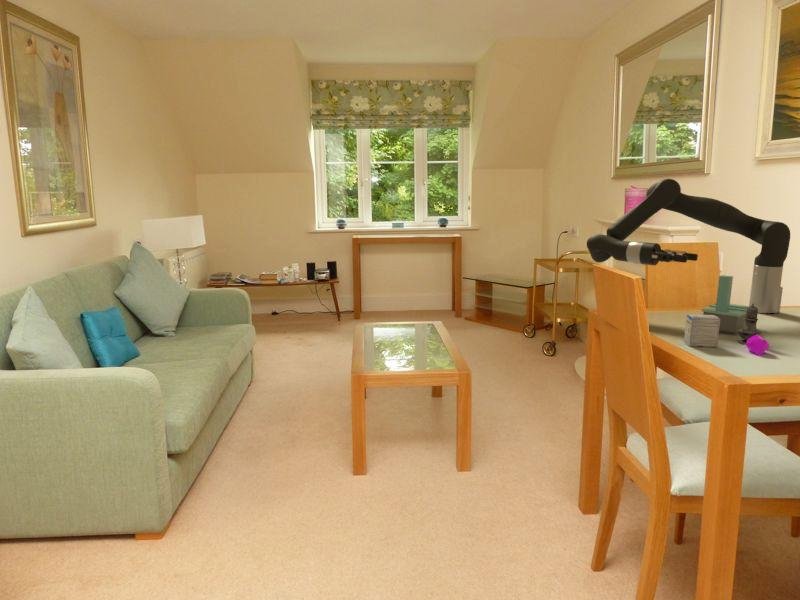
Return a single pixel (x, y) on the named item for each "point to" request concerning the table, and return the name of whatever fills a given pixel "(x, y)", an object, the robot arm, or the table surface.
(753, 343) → the magenta icosahedron
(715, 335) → the medicine box
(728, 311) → the lid
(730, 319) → the tub
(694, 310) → the table surface
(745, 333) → the grey chess bishop
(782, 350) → the table surface
